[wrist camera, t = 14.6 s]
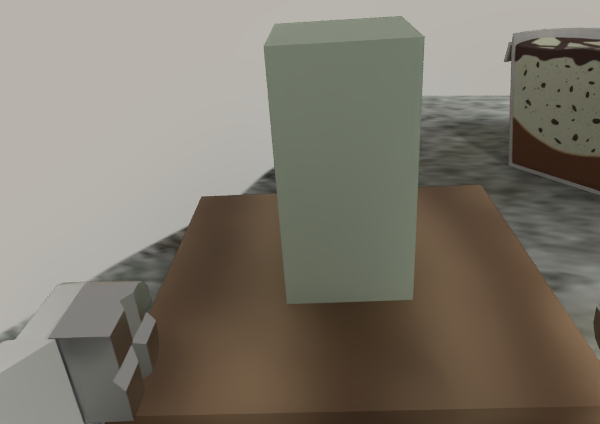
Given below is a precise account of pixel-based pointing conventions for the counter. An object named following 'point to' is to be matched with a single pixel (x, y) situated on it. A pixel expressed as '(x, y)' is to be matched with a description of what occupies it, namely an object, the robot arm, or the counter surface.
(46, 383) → the robot arm
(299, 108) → the sage block
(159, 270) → the counter surface
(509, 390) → the walnut base
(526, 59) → the food container
